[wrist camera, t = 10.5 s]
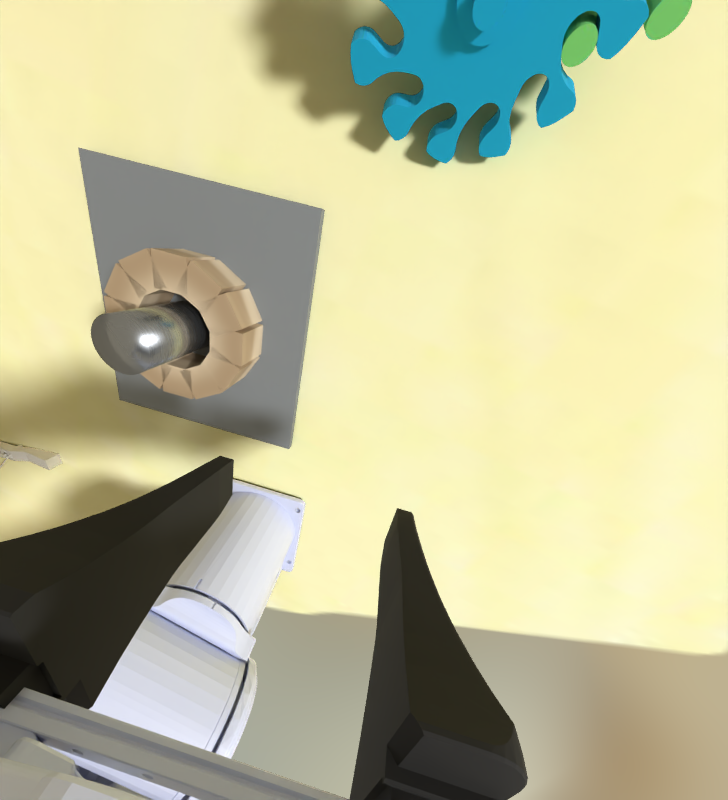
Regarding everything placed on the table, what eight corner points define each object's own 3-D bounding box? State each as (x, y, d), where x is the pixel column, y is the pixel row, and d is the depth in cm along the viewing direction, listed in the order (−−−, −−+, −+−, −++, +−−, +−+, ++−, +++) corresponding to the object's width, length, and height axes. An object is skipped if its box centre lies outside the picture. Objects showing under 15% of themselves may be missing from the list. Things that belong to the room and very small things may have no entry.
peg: (221, 350, 21) (151, 382, 15) (180, 338, 21) (96, 365, 15) (222, 305, 19) (146, 323, 14) (179, 293, 19) (86, 305, 14)
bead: (258, 396, 22) (239, 412, 19) (147, 365, 22) (116, 377, 20) (267, 270, 18) (245, 272, 16) (133, 235, 18) (93, 232, 16)
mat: (291, 445, 24) (288, 449, 23) (125, 397, 24) (119, 399, 24) (324, 210, 16) (321, 208, 16) (87, 150, 17) (78, 147, 17)
